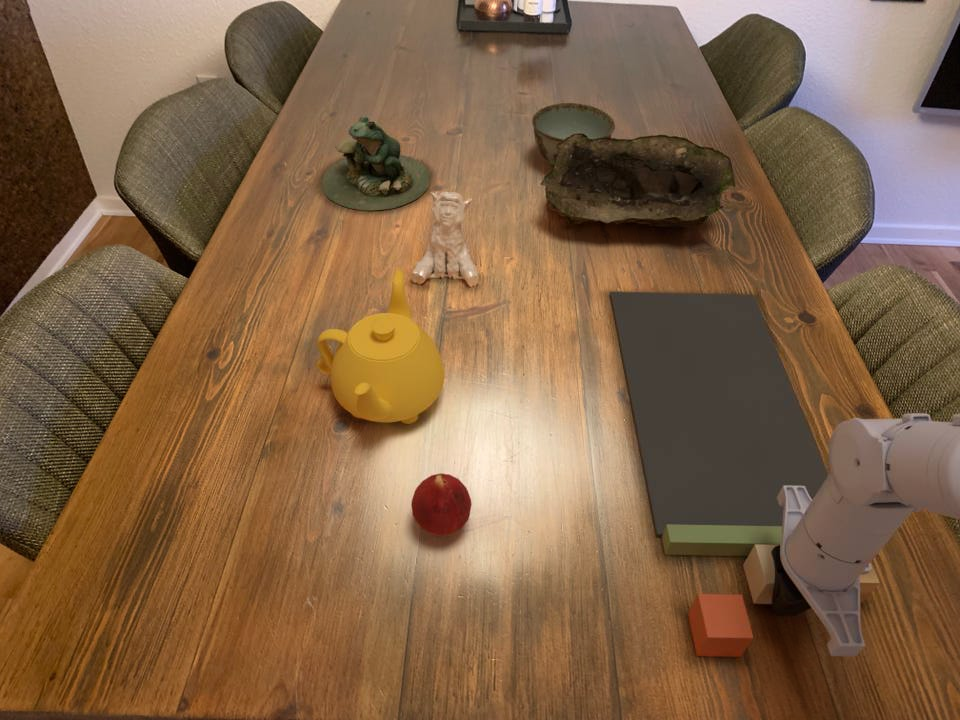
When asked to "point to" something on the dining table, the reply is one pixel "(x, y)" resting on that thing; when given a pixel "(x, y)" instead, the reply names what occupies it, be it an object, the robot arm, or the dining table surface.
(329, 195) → the frog figurine
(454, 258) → the sitting furry creature
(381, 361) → the teapot
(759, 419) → the line board
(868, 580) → the birch block
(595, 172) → the hollow geode rock
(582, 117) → the bowl
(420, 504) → the onion
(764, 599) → the ivory block
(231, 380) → the dining table surface
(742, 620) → the terracotta block
